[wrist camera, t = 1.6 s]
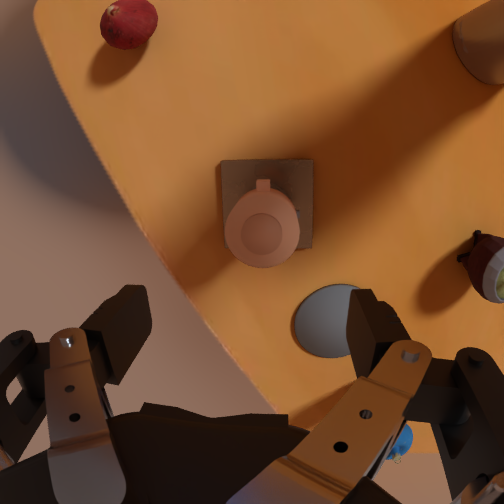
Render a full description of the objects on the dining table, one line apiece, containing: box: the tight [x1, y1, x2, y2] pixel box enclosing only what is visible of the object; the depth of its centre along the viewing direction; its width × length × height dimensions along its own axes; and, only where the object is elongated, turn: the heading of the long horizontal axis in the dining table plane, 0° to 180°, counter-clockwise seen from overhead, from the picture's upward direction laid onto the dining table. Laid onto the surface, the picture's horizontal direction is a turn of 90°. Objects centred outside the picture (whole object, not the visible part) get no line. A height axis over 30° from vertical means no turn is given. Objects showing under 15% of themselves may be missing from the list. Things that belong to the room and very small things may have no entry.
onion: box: [100, 0, 158, 50], centre depth 23 cm, size 6×6×8 cm
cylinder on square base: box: [221, 159, 313, 248], centre depth 29 cm, size 9×9×7 cm
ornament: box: [385, 424, 413, 463], centre depth 32 cm, size 5×5×15 cm
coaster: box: [295, 284, 360, 358], centre depth 36 cm, size 10×10×1 cm
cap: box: [225, 179, 300, 268], centre depth 24 cm, size 5×7×5 cm
